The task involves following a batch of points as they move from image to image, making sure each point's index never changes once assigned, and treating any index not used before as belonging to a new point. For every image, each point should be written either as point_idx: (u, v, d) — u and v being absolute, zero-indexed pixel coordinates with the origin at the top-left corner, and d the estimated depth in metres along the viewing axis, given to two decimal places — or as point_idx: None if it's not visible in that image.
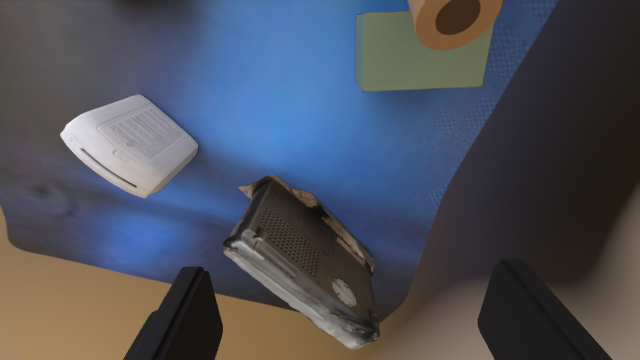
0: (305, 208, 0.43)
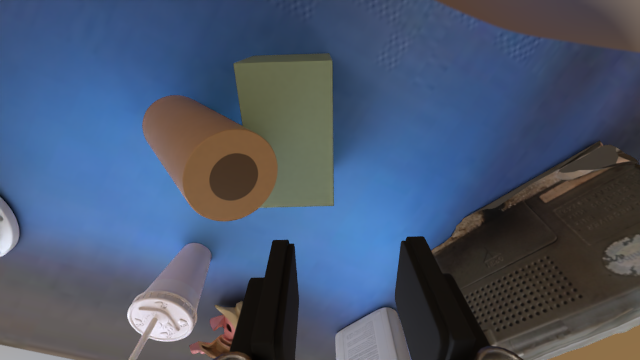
0: (481, 229, 0.35)
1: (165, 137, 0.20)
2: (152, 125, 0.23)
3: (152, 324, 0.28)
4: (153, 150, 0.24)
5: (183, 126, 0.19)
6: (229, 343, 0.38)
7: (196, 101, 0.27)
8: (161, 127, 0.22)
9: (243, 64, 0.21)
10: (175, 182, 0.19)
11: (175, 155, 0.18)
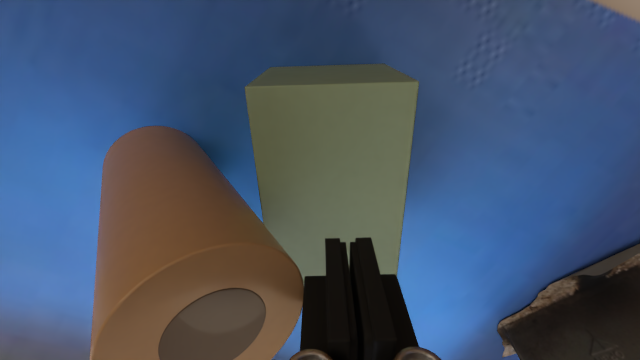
0: (575, 299, 0.26)
1: (102, 224, 0.11)
2: (103, 182, 0.14)
3: None
4: None
5: (126, 213, 0.10)
6: None
7: (182, 136, 0.18)
8: (106, 196, 0.13)
9: (262, 88, 0.12)
10: None
11: (96, 285, 0.09)
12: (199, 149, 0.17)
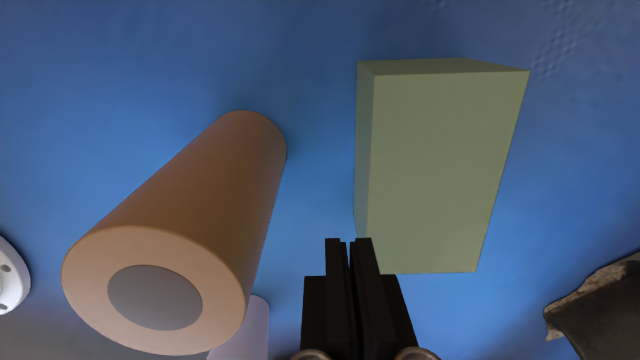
0: (622, 284, 0.27)
1: None
2: None
3: None
4: None
5: (149, 178, 0.12)
6: None
7: (261, 123, 0.20)
8: None
9: (390, 77, 0.13)
10: None
11: None
12: (266, 137, 0.19)
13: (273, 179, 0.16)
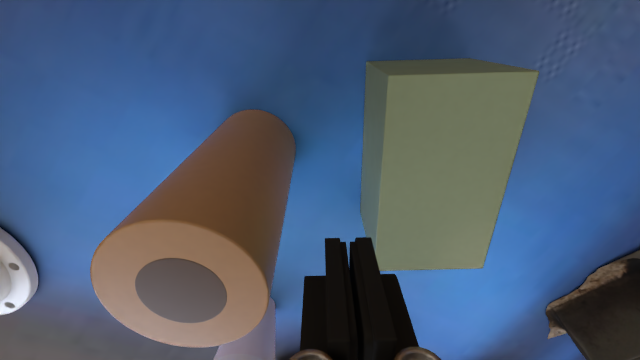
0: (624, 281, 0.28)
1: None
2: None
3: None
4: None
5: (170, 175, 0.13)
6: None
7: (272, 122, 0.20)
8: None
9: (403, 77, 0.14)
10: None
11: None
12: (278, 136, 0.19)
13: (286, 177, 0.17)
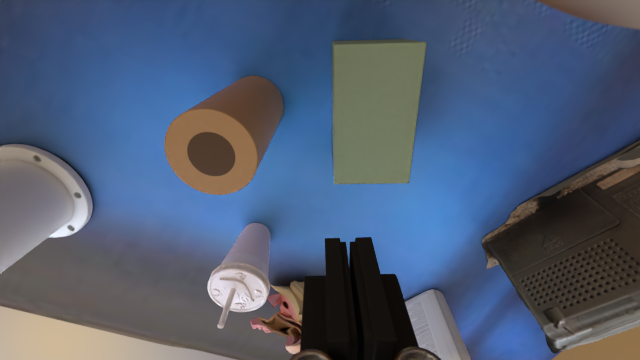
0: (536, 215, 0.36)
1: None
2: None
3: (232, 293, 0.30)
4: None
5: None
6: (286, 319, 0.40)
7: (266, 83, 0.29)
8: None
9: (343, 45, 0.23)
10: None
11: None
12: (269, 91, 0.28)
13: (273, 114, 0.26)
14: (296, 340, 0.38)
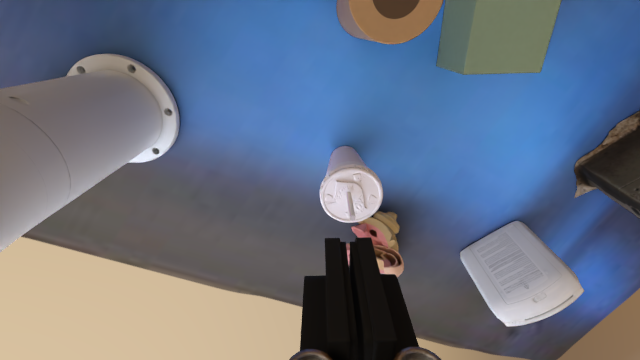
0: (638, 132, 0.36)
1: None
2: None
3: (350, 195, 0.29)
4: (339, 10, 0.27)
5: None
6: (375, 247, 0.39)
7: None
8: None
9: None
10: (345, 1, 0.20)
11: None
12: None
13: None
14: (391, 264, 0.36)
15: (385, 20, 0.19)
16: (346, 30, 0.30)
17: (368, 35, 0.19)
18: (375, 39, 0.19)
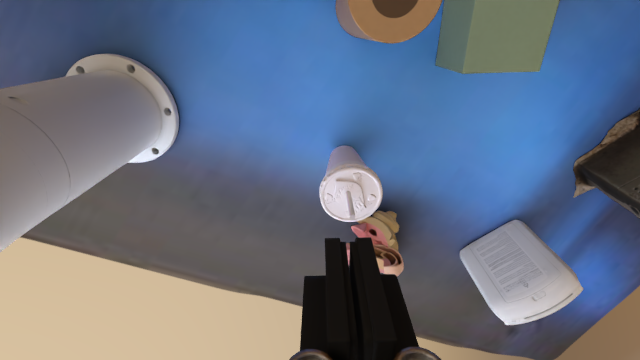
0: (636, 131, 0.36)
1: None
2: None
3: (350, 194, 0.29)
4: (338, 10, 0.27)
5: None
6: (375, 247, 0.39)
7: None
8: None
9: None
10: (344, 0, 0.21)
11: None
12: None
13: None
14: None
15: (384, 19, 0.19)
16: (345, 29, 0.30)
17: (367, 34, 0.19)
18: (374, 38, 0.19)
